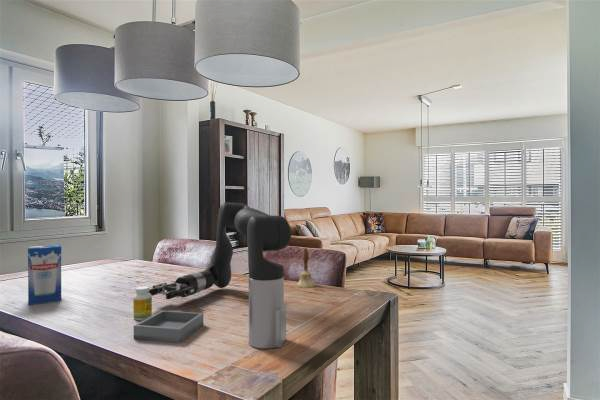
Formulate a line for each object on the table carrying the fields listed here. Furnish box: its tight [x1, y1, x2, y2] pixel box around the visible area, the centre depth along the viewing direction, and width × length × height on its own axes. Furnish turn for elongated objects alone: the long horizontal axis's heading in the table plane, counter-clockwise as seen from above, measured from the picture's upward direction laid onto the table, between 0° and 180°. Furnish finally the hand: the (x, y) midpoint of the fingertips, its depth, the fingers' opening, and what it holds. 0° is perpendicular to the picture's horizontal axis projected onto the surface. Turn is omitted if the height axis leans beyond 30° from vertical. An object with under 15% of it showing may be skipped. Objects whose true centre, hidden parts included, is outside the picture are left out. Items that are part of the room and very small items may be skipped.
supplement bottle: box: [132, 285, 153, 321], centre depth 115 cm, size 5×5×10 cm
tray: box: [133, 310, 204, 343], centre depth 104 cm, size 14×14×4 cm
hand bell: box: [296, 248, 316, 288], centre depth 158 cm, size 8×8×16 cm
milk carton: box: [27, 244, 62, 306], centre depth 134 cm, size 10×6×20 cm, turn 123°
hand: (157, 294), depth 121 cm, fingers open, 8 cm apart
